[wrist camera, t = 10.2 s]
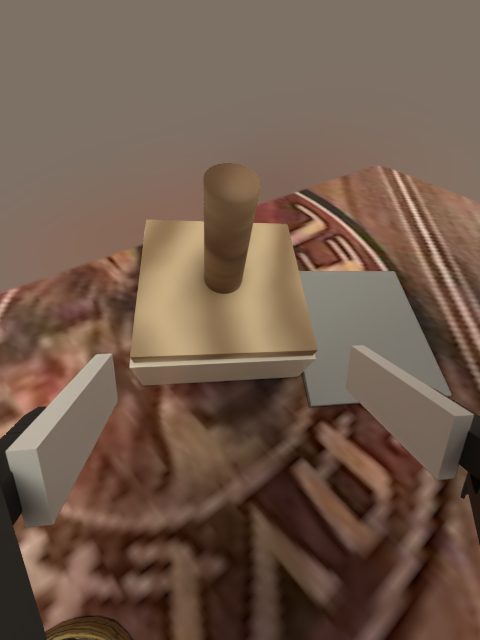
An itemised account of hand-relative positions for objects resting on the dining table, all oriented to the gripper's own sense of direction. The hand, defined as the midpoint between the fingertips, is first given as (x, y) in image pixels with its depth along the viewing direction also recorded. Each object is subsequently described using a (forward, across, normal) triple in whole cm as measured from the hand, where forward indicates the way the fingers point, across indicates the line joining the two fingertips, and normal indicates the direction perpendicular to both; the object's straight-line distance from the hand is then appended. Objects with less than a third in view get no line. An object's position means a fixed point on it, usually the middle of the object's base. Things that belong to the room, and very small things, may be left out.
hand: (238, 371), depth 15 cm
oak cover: (+12, 0, +3) cm, 12 cm away
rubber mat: (+14, +16, -2) cm, 21 cm away
